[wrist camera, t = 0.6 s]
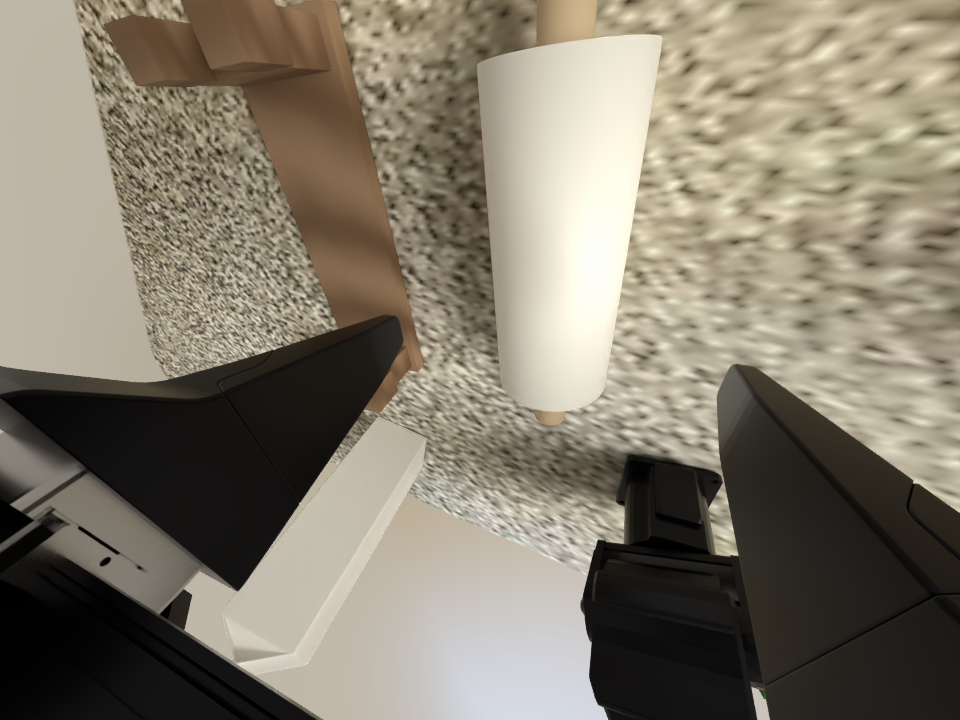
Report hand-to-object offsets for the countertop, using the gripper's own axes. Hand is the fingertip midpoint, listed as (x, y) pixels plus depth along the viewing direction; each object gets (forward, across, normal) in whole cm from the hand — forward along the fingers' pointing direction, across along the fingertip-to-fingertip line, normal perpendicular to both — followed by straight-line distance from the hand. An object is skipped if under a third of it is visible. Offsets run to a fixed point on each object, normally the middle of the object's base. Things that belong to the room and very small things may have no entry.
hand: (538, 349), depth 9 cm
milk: (+12, +18, +24) cm, 32 cm away
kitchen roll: (+9, +1, +1) cm, 9 cm away
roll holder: (+12, +16, +1) cm, 20 cm away
